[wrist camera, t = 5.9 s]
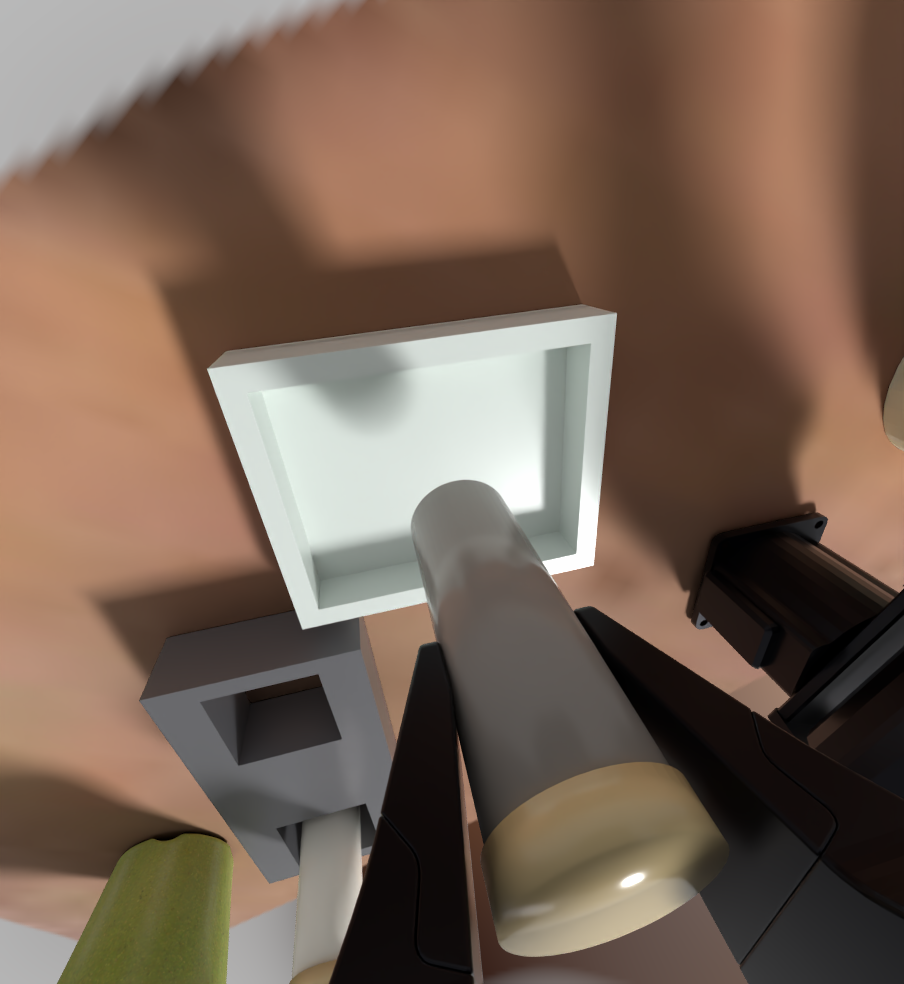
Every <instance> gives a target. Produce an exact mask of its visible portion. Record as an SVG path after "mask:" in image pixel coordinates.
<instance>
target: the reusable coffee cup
mask: <svg viewBox="0 0 904 984" xmlns="http://www.w3.org/2000/svg"><path fill="white" fill-rule="evenodd" d="M883 422H884V428H885V433H886V435H887V437H888V439H889V440H890V442H891V443H892V444H893V445H895V446H896V447H897V448H898V449H900V450H902V451H904V357H903V359H902V361H901V363H900V364H899V366H898V368H897V370H896V372H895V374H894V377H893V379H892V381H891V384H890V386H889V389H888V393H887V397H886V400H885V404H884V415H883Z"/></svg>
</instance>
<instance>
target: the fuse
mask: <svg viewBox="0 0 904 984" xmlns="http://www.w3.org/2000/svg"><path fill="white" fill-rule="evenodd" d="M361 885H362V855H361V824H360V805H358V806H355V807H351V808H348V809H344V810H340V811H337V812H333V813H330V814H326V815H323V816H319V817H315V818H312V819H308V820H305V821H303V822H302V837H301V851H300V866H299V881H298V896H297V911H296V925H295V942H294V955H293V970H292V980H291V981H290V983H289V984H329V981H330V978H331V975H332V972H333V969H334V966H335V964H336V961H337V958H338V955H339V952H340V949H341V946H342V943H343V940H344V937H345V935H346V932H347V929H348V926H349V923H350V920H351V917H352V914H353V911H354V907H355V904H356V901H357V898H358V895H359V891H360V888H361Z"/></svg>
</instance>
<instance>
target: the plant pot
mask: <svg viewBox="0 0 904 984" xmlns="http://www.w3.org/2000/svg"><path fill="white" fill-rule="evenodd" d="M232 873H233V857H232V853H231V850H230V846H229V845H228V844H227V843H225V842H224V841H222V840H220V839H218V838H215V837H211V836H207V835H202V834H182V835H180V836H178V837H176V838H174V839H172V840H168V841H159V840H156V839H150V840H147V841H144V842H142V843H140V844H138V845H136V846H134V847H132V848H131V849H129V850H128V851H127V852H125V853H124V854H123V855H122V857H121V858H120V859H119V861H118V862H117V864H116V866H115V868H114V870H113V872H112V874H111V876H110V878H109V880H108V882H107V884H106V886H105V888H104V890H103V892H102V894H101V897H100V899H99V901H98V903H97V905H96V907H95V909H94V911H93V913H92V915H91V917H90V919H89V921H88V923H87V925H86V927H85V929H84V931H83V933H82V935H81V937H80V939H79V941H78V943H77V945H76V947H75V949H74V951H73V953H72V955H71V957H70V959H69V961H68V963H67V965H66V967H65V969H64V971H63V973H62V975H61V977H60V979H59V981H58V983H57V984H226V976H227V959H228V940H229V922H230V905H231V887H232Z"/></svg>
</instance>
